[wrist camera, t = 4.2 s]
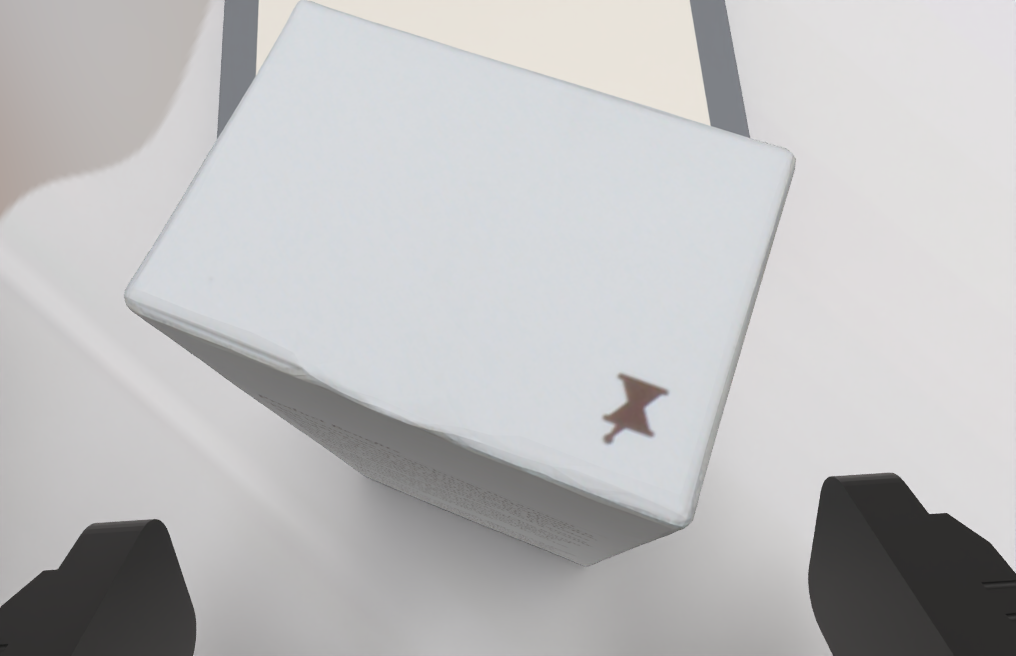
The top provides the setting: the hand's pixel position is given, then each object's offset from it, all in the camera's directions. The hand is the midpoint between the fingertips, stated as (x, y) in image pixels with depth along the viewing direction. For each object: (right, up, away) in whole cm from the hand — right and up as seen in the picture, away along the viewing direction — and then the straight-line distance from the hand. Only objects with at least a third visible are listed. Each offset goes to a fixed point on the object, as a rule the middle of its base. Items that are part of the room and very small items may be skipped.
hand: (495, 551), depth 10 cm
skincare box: (0, 0, +10) cm, 10 cm away
